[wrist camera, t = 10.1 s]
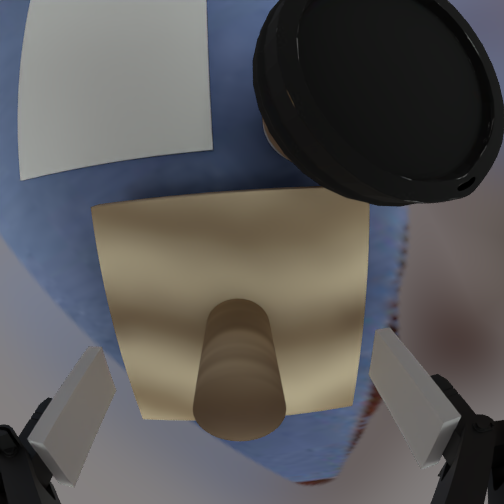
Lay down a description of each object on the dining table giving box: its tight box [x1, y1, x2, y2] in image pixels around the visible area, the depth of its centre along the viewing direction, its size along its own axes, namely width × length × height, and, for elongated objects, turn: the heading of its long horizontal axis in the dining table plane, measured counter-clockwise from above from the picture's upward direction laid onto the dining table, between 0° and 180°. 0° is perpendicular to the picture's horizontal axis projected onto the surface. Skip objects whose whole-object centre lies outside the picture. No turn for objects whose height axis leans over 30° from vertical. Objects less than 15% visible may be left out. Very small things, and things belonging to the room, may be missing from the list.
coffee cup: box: [253, 0, 504, 206], centre depth 14 cm, size 8×8×15 cm
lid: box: [91, 186, 369, 441], centre depth 15 cm, size 15×15×8 cm
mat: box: [18, 0, 213, 181], centre depth 18 cm, size 18×16×1 cm
